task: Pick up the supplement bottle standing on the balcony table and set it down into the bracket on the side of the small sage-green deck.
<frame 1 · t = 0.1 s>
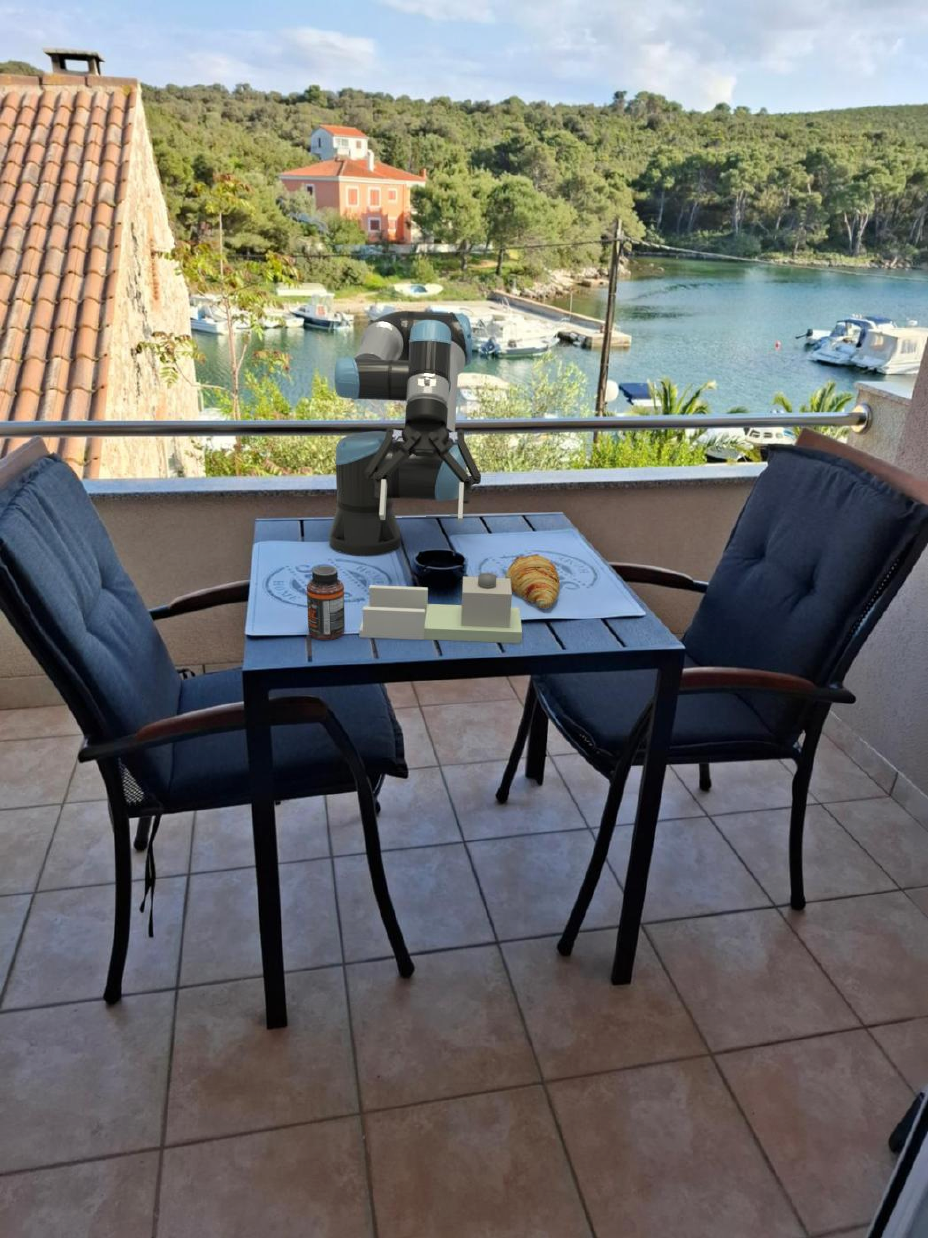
hand: (421, 519, 145), 15 cm above the table, tool tilted 35°, fingers open, 13 cm apart
supplement bottle: (326, 634, 137), on the table
croissant: (530, 592, 158), on the table
deck: (455, 627, 141), on the table
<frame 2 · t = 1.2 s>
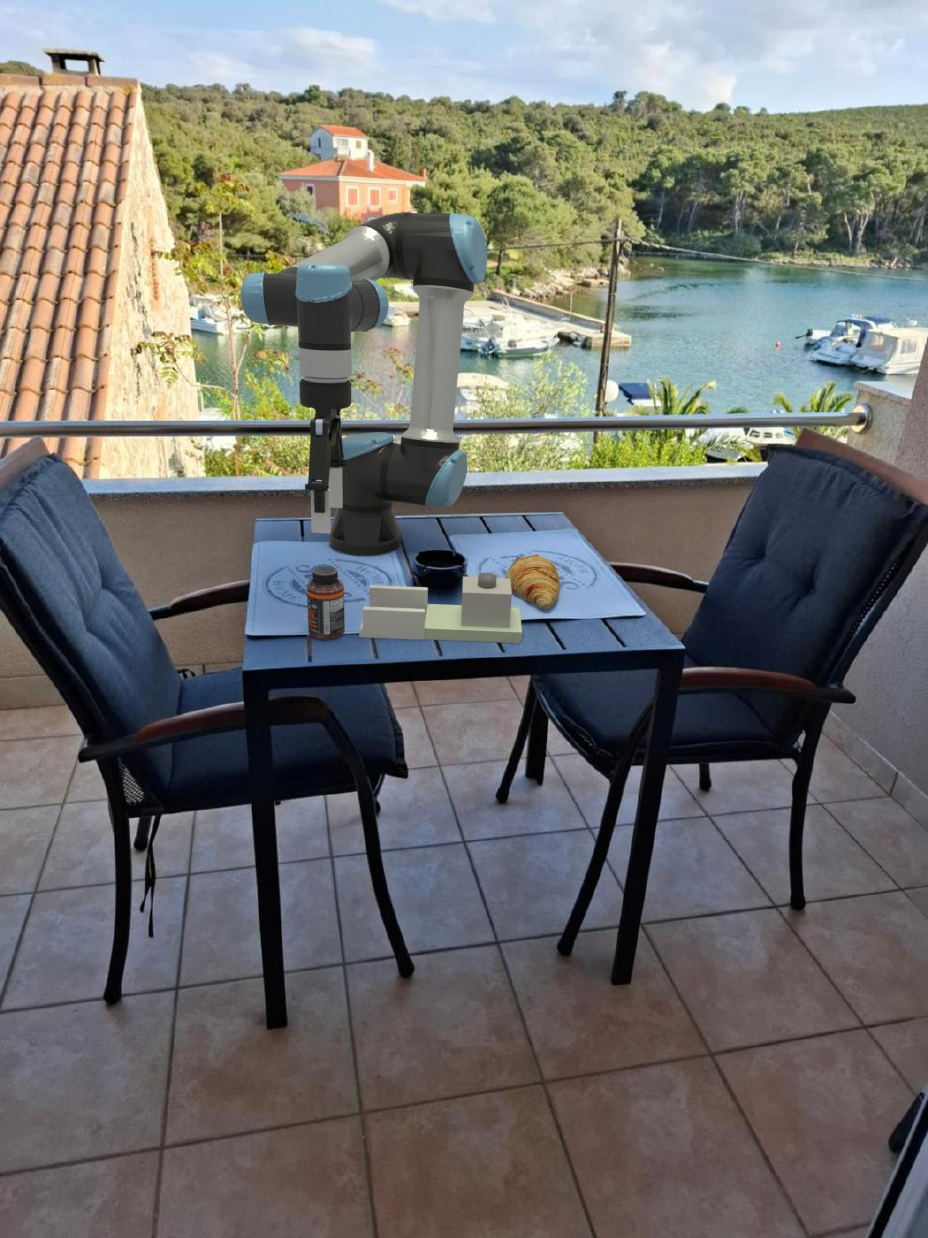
hand: (327, 519, 130), 19 cm above the table, tool pointing down, fingers open, 13 cm apart
nothing on the table moved.
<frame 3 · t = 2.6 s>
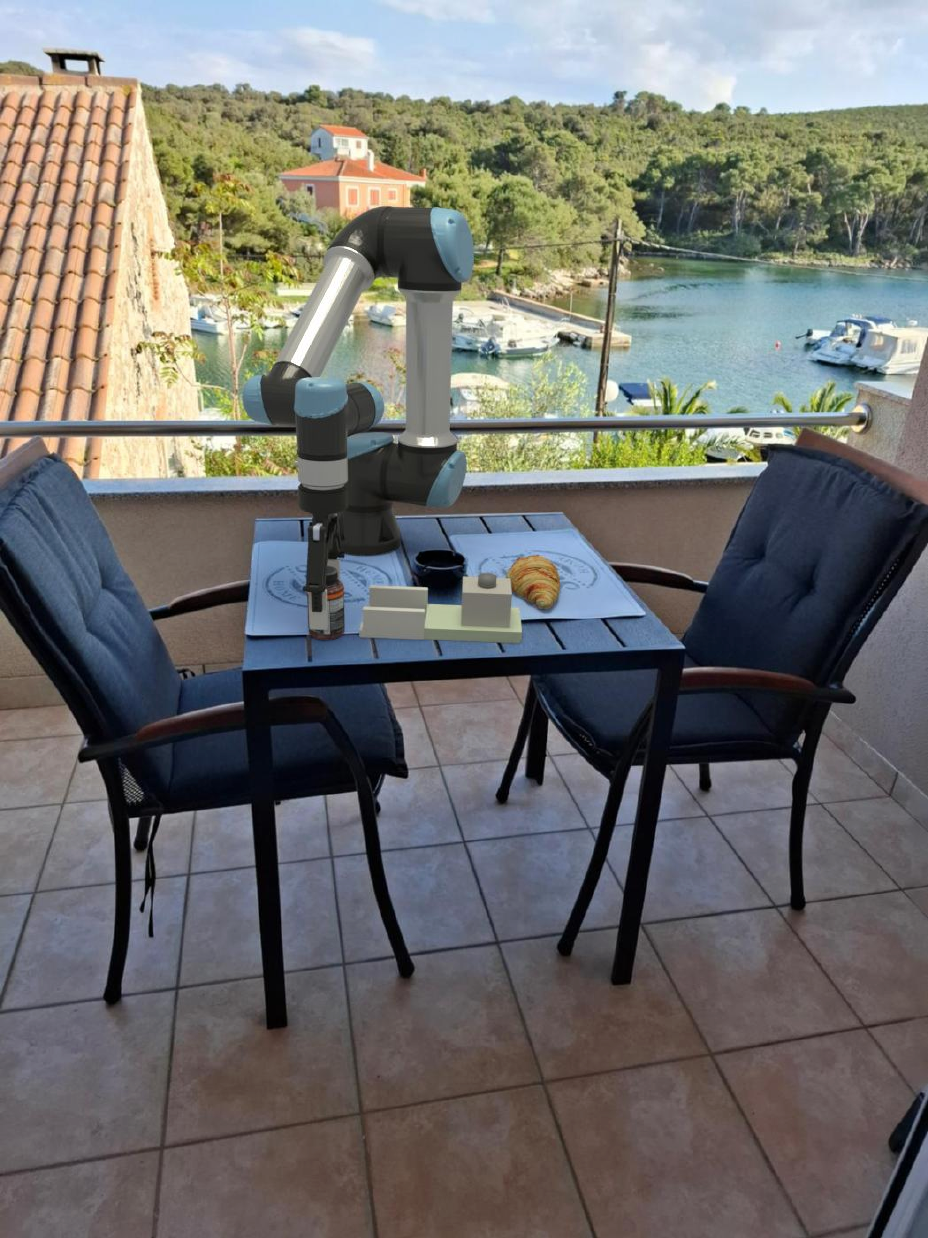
hand: (325, 611, 135), 4 cm above the table, tool pointing down, fingers open, 13 cm apart
nothing on the table moved.
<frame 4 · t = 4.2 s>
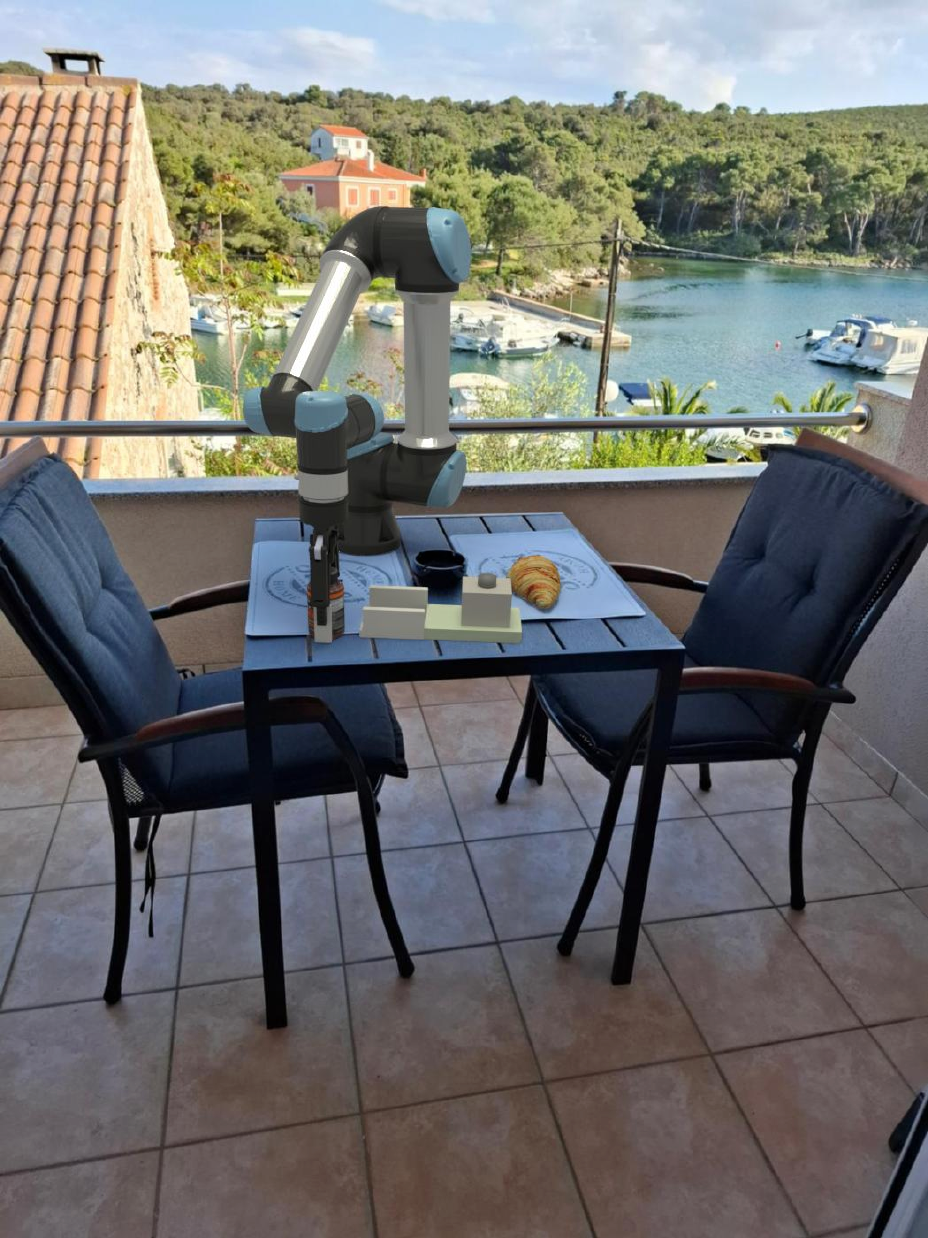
hand: (327, 631, 137), 0 cm above the table, tool pointing down, fingers open, 6 cm apart
supplement bottle: (326, 634, 137), on the table, touching gripper
everything else where it was.
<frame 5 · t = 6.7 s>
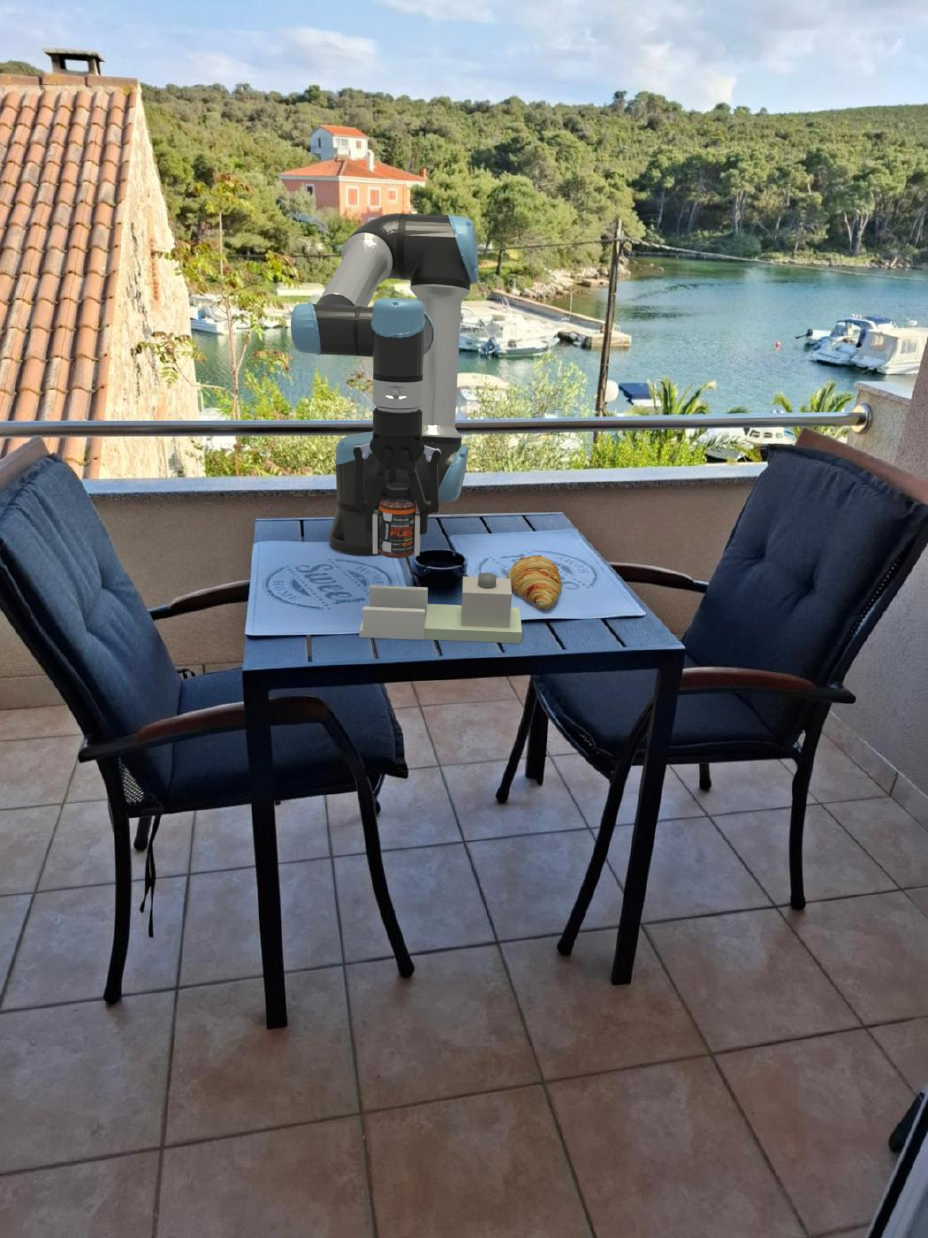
hand: (396, 551, 135), 13 cm above the table, tool pointing down, fingers closed on supplement bottle, 6 cm apart
supplement bottle: (396, 554, 136), point 13 cm above the table, touching gripper
everything else where it was.
when the fingers open (2 cm above the table, at t = 8.9 s): supplement bottle drops 2 cm, resting in deck.
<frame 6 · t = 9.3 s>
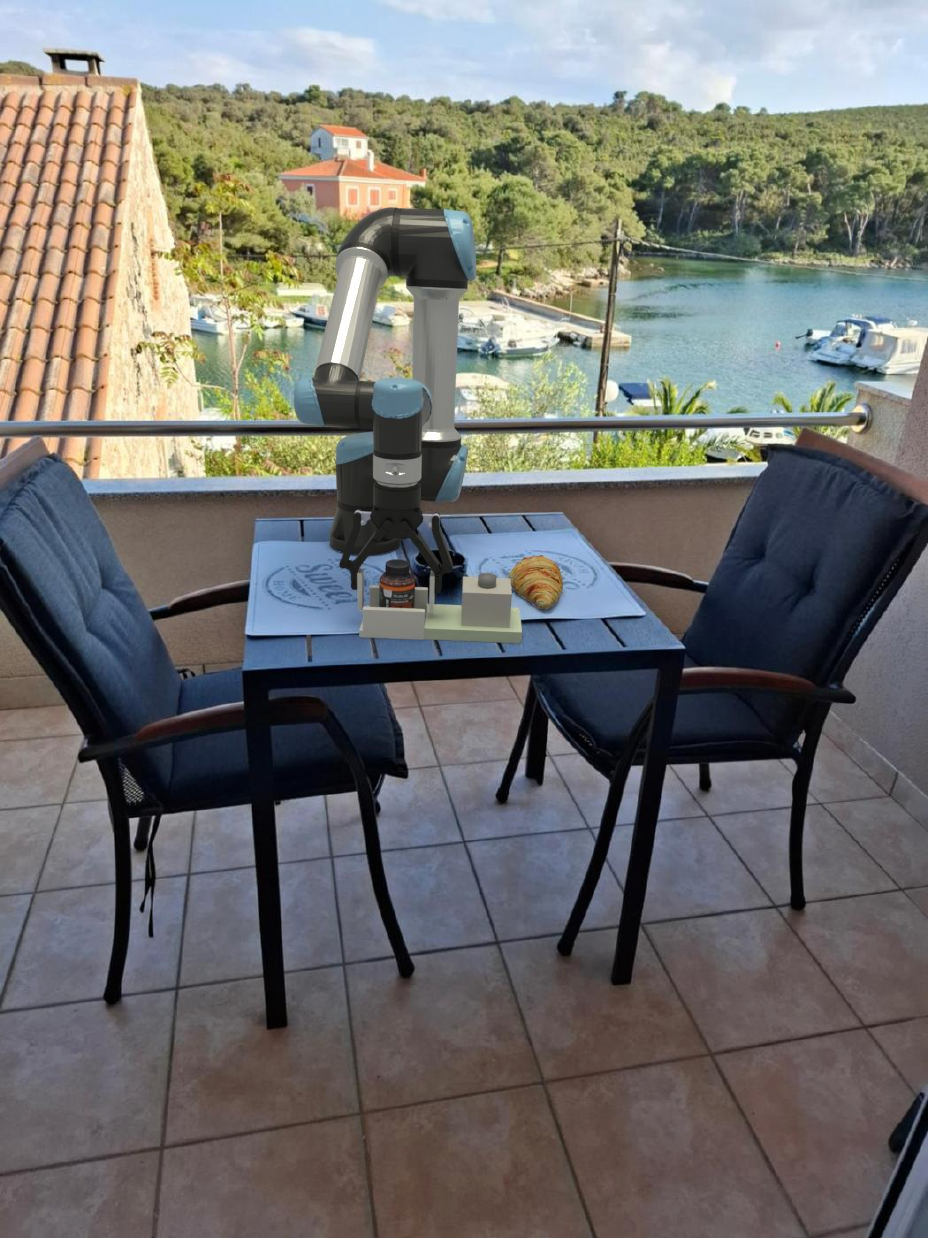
hand: (396, 608, 140), 3 cm above the table, tool pointing down, fingers open, 11 cm apart
supplement bottle: (396, 626, 141), resting in deck
everything else where it was.
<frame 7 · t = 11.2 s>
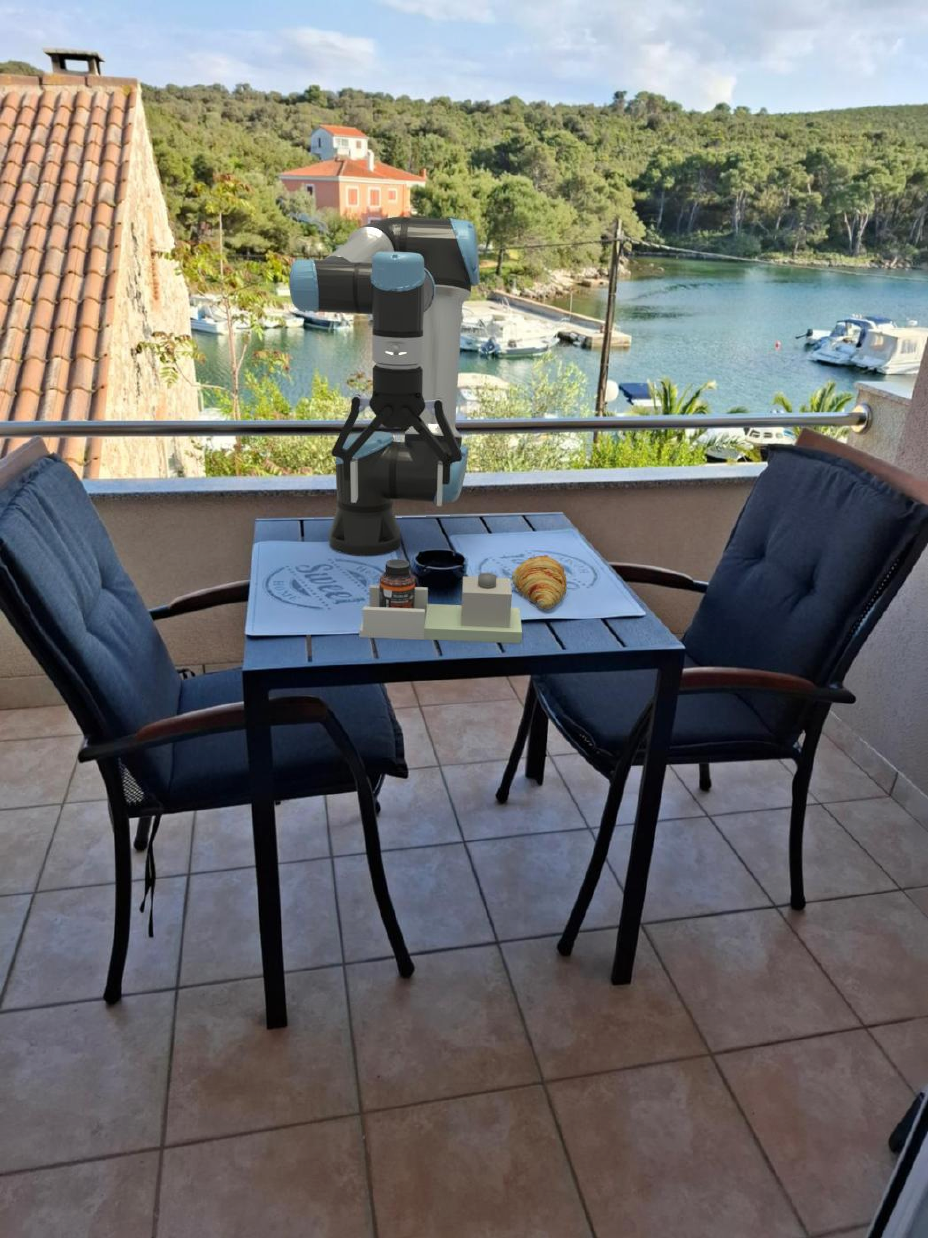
hand: (397, 502, 133), 21 cm above the table, tool pointing down, fingers open, 13 cm apart
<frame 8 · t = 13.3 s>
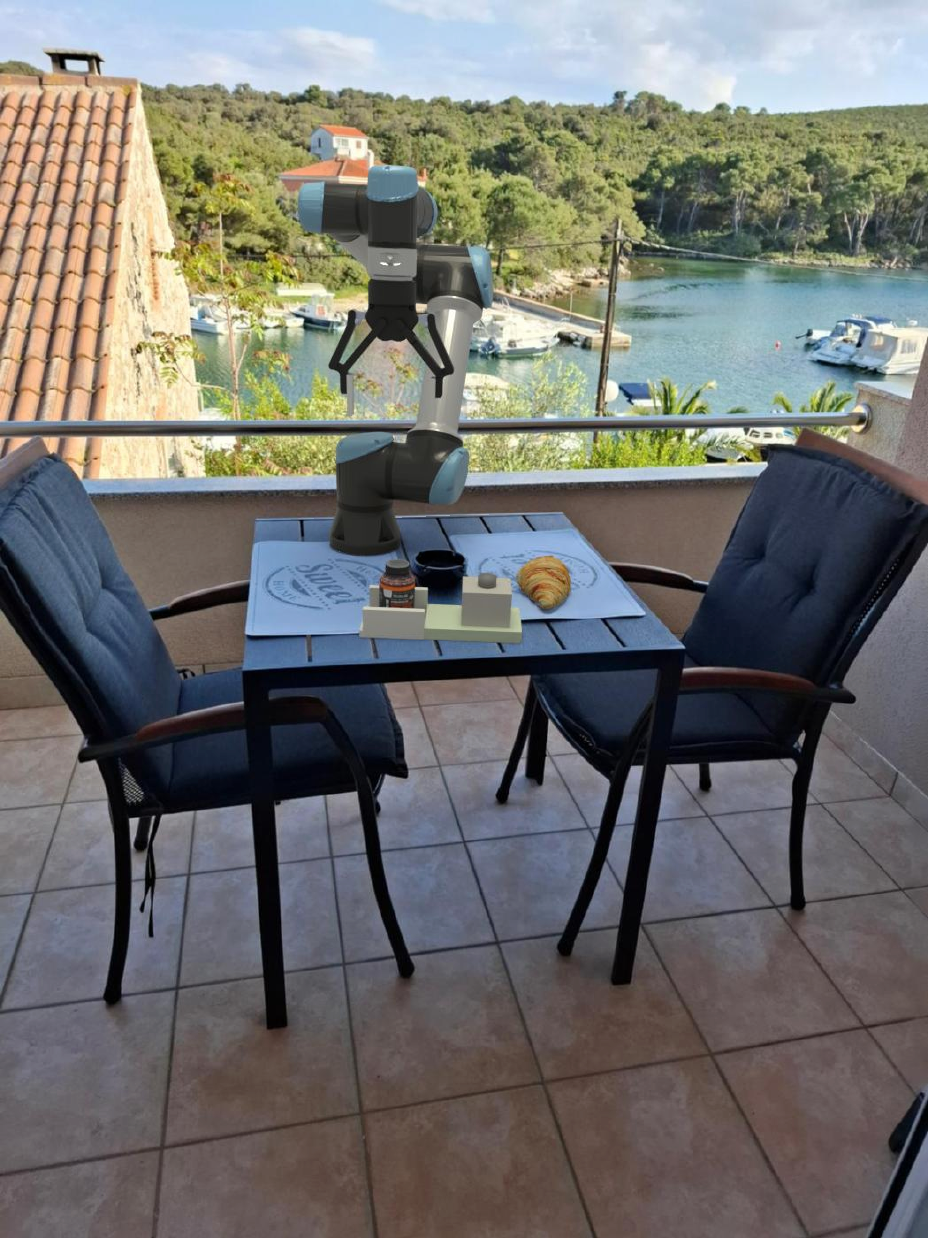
hand: (391, 416, 138), 33 cm above the table, tool pointing down, fingers open, 13 cm apart
at the end: supplement bottle inside the target area (0.2 cm from its centre), resting in deck; supplement bottle tilted 0°; the gripper is holding nothing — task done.
